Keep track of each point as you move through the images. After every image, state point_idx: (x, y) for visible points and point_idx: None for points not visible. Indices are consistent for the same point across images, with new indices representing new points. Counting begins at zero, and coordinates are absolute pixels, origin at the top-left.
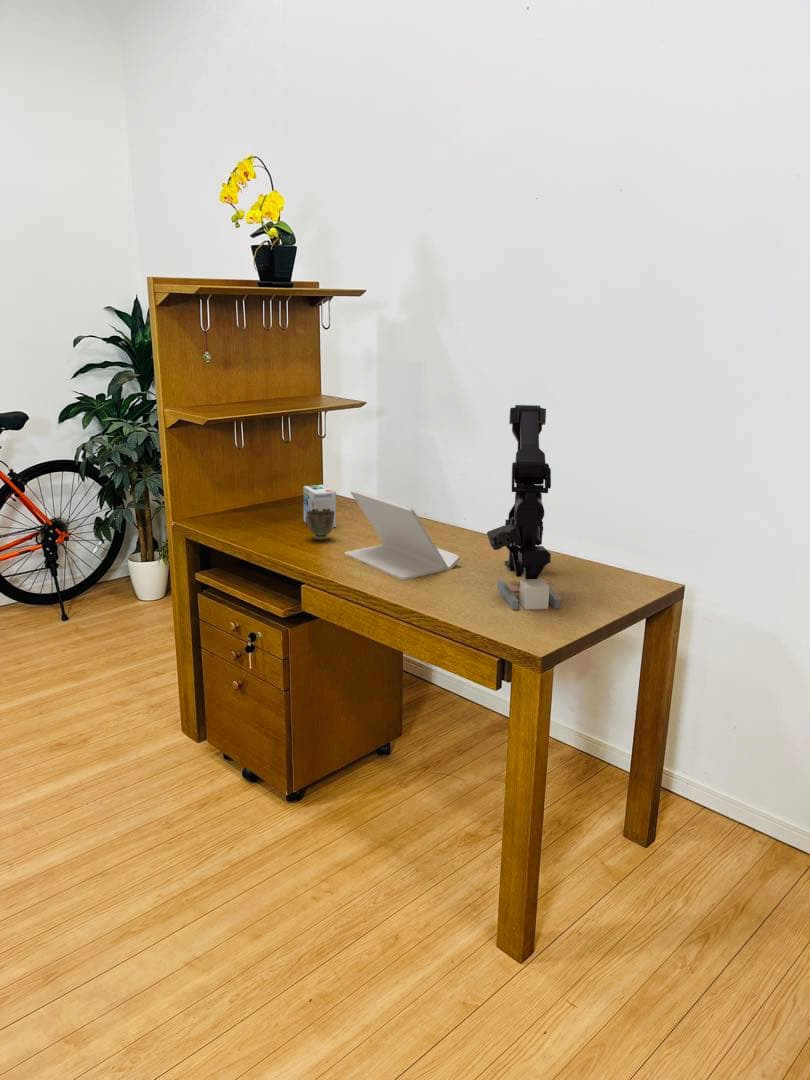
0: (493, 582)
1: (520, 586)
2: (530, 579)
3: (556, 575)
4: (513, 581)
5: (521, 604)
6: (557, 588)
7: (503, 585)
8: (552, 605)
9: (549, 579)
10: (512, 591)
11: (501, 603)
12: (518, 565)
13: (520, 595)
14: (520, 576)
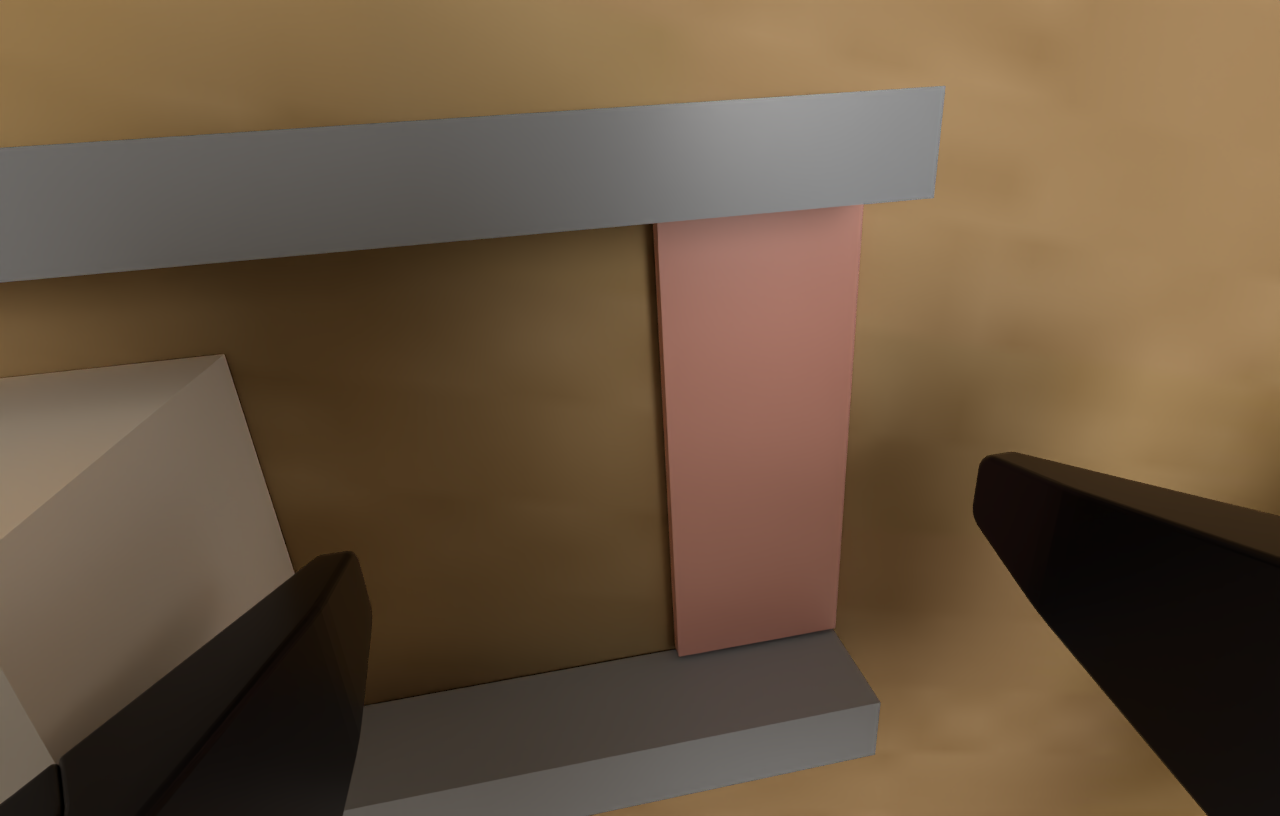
0: (1117, 77)
1: (1, 490)
2: None
3: (1113, 788)
4: (1074, 380)
5: (51, 374)
6: (761, 793)
7: (588, 147)
8: None
9: (1029, 736)
10: (661, 313)
11: (29, 11)
12: (1152, 590)
13: (71, 411)
14: (975, 510)
